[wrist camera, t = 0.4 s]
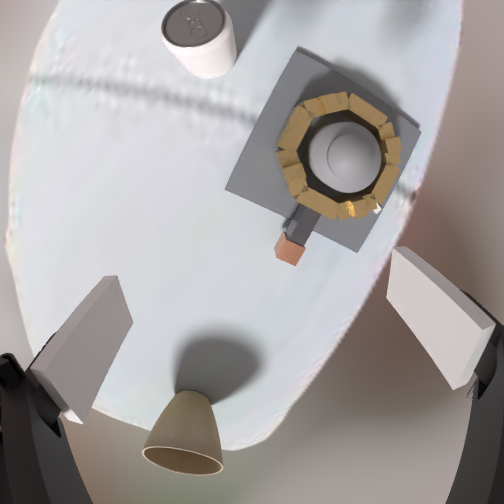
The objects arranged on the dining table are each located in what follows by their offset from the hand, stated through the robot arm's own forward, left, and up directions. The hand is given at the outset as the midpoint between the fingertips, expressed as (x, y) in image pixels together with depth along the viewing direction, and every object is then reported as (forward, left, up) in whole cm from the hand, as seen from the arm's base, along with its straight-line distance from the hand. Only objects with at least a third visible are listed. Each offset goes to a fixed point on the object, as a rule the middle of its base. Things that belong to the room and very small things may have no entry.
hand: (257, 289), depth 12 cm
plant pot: (+44, +7, -24) cm, 51 cm away
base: (-9, +7, -24) cm, 27 cm away
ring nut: (-5, +7, -22) cm, 24 cm away
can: (-14, -12, -24) cm, 30 cm away
